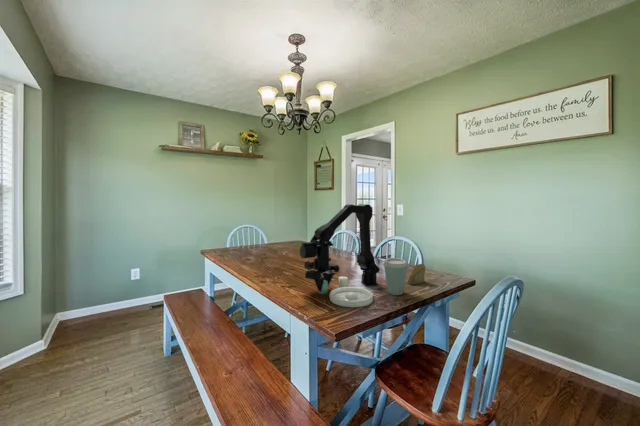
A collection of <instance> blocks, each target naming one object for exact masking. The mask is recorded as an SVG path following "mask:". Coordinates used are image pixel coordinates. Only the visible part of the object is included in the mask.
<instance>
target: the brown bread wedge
mask: <svg viewBox="0 0 640 426" xmlns="http://www.w3.org/2000/svg"><path fill="white" fill-rule="evenodd" d="M412 269H413V270H412V272H411V274H410V275H409V278H408V279H407V284H408V285H409V286H410V285H416V284H417V283H419V284H423V283H425V280H426V279H425V274H426V265H425V263H419V264H417V265H415V266H413V268H412Z"/></svg>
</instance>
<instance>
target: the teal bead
mask: <svg viewBox="0 0 640 426" xmlns="http://www.w3.org/2000/svg"><path fill="white" fill-rule="evenodd" d="M328 287H329V286H328V281H326V280H324V281H323V286H322V290H321V291H318V290H317V292H318V294H321V295H326V294H328V289H329V288H328Z"/></svg>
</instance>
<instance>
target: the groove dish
mask: <svg viewBox="0 0 640 426" xmlns="http://www.w3.org/2000/svg"><path fill="white" fill-rule="evenodd" d="M329 300H330V302H331V303H332V304H334V305H336V306H339V307H344V308H363V307H366V306H367V307H368V306H369V305H371V304H373V300H374V294H373V292H372V291H370V289H365V288H363V287H355V286H348V287H341V288H339V287H337V288H333V289H332V290H331V291H329Z"/></svg>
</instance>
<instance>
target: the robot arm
mask: <svg viewBox="0 0 640 426" xmlns="http://www.w3.org/2000/svg"><path fill="white" fill-rule="evenodd" d="M373 209H374V208H373V207H372V206H371V205H370V204H364V203H359V204H358V205H357V204H356V205H355V204H349V203H347V204H345V205H344V206H343V207H342V209H340V211H338V212H337V213H336V214H335V215H334V216H333V217H332V218H331V219H330V220H328V222H327V223H325V224H322V225H321V226H319V227H317V229H315V231H314V235H313V236H312V238H311V239H310V241H309V242H301V246H300V249H299V255H300V258H301V259H310V258H314V259H313V261H310V260H308V261H304V265H303V266H304V269H306V270H307V271H305V273H304V278H305V279H309V280H313V281H314V282H315V285H316V287H317V292H318V291H321V290H322V286H323V281H324V280H326V281H328V287H329V285H330V283H331V281H332V279H333V278H334V276H335V275H336V273H338V272H340V266H339V265H338V264H333V263H330V262H331V261H332V258H331V257H330V247H333V246H334V243H332V242H331V239H332V237H333V236H334V235H335V232H336V230H337V229H338V228H339V227H340V226H341V225H342V223H344V222H345V221H346V220H347V219H348V218H349V217H350V216H351V215H352V214H355V216H356V219H357V221H358V223H359V242H360V252H359V254H356V263H357V265H358V266H359V268H360V271H362V274H361V281H360V282H361V283H362V284H363V285H364V286H367V287H368V286H376V285H379V283H378V282H377V281H378V280H377V278H378V277H377V276H378V275H377V274H378V273H379V272H380V267H379V266H378V265H377V264H376V260H375V257H374V254H373V253H372V249H371V247H372V246H371V230H370V228H371V226H370V225H371V224H370V222H371V220H372V218H373ZM333 271H334V272H333Z"/></svg>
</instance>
